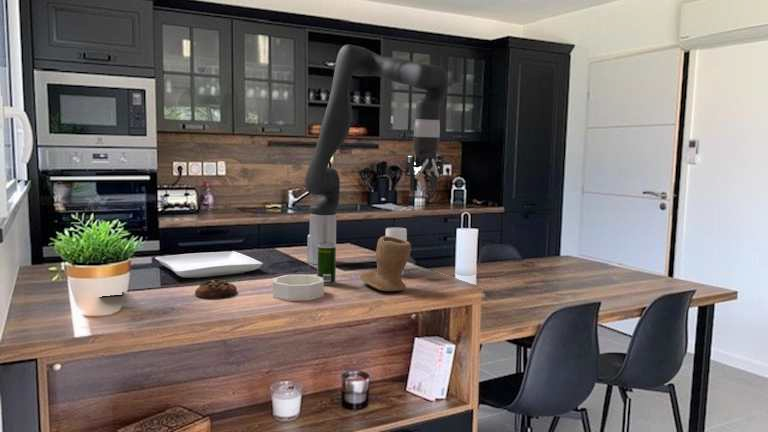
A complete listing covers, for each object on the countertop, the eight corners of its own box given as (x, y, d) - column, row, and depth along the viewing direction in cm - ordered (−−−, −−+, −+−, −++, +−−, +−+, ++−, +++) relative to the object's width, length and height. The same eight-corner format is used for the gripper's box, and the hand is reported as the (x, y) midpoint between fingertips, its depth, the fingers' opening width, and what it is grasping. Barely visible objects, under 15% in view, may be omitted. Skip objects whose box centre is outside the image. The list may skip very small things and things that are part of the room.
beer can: (337, 284, 169) (338, 244, 168) (319, 285, 167) (320, 245, 166) (332, 280, 174) (333, 241, 173) (315, 281, 172) (315, 242, 171)
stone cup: (416, 292, 162) (418, 239, 160) (377, 295, 157) (378, 241, 156) (394, 281, 176) (395, 232, 174) (358, 283, 171) (358, 233, 169)
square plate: (264, 273, 183) (264, 261, 183) (176, 283, 168) (176, 270, 168) (234, 259, 206) (234, 249, 205) (154, 267, 190) (154, 255, 190)
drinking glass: (406, 273, 187) (407, 227, 185) (405, 277, 180) (406, 230, 179) (385, 272, 188) (386, 227, 186) (383, 276, 181) (384, 229, 179)
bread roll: (217, 301, 148) (215, 281, 148) (185, 301, 153) (184, 282, 153) (246, 293, 158) (244, 275, 158) (215, 294, 163) (214, 276, 163)
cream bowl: (262, 294, 155) (262, 280, 155) (297, 286, 166) (297, 272, 166) (298, 303, 147) (298, 287, 147) (333, 293, 158) (333, 279, 158)
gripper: (433, 134, 175) (429, 187, 178) (400, 134, 166) (397, 190, 168) (452, 136, 170) (448, 190, 173) (419, 136, 160) (416, 193, 163)
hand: (423, 190), depth 171 cm, fingers open, 8 cm apart
